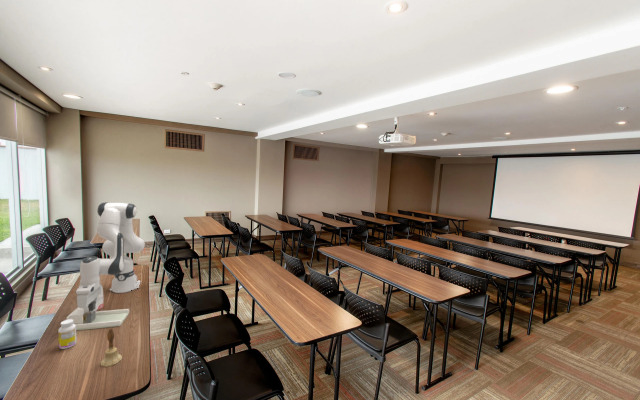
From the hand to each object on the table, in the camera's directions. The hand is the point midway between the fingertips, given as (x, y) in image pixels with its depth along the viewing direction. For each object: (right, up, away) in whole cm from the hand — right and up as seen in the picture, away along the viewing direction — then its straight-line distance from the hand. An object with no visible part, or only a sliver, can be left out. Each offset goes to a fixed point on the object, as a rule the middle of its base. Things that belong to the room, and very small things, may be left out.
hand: (90, 307), depth 159 cm
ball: (-5, -6, -1) cm, 8 cm away
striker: (0, -8, +1) cm, 8 cm away
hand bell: (+35, -14, -29) cm, 48 cm away
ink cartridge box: (-11, -8, +15) cm, 20 cm away
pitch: (+3, -9, +2) cm, 10 cm away
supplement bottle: (+5, -11, -20) cm, 24 cm away
